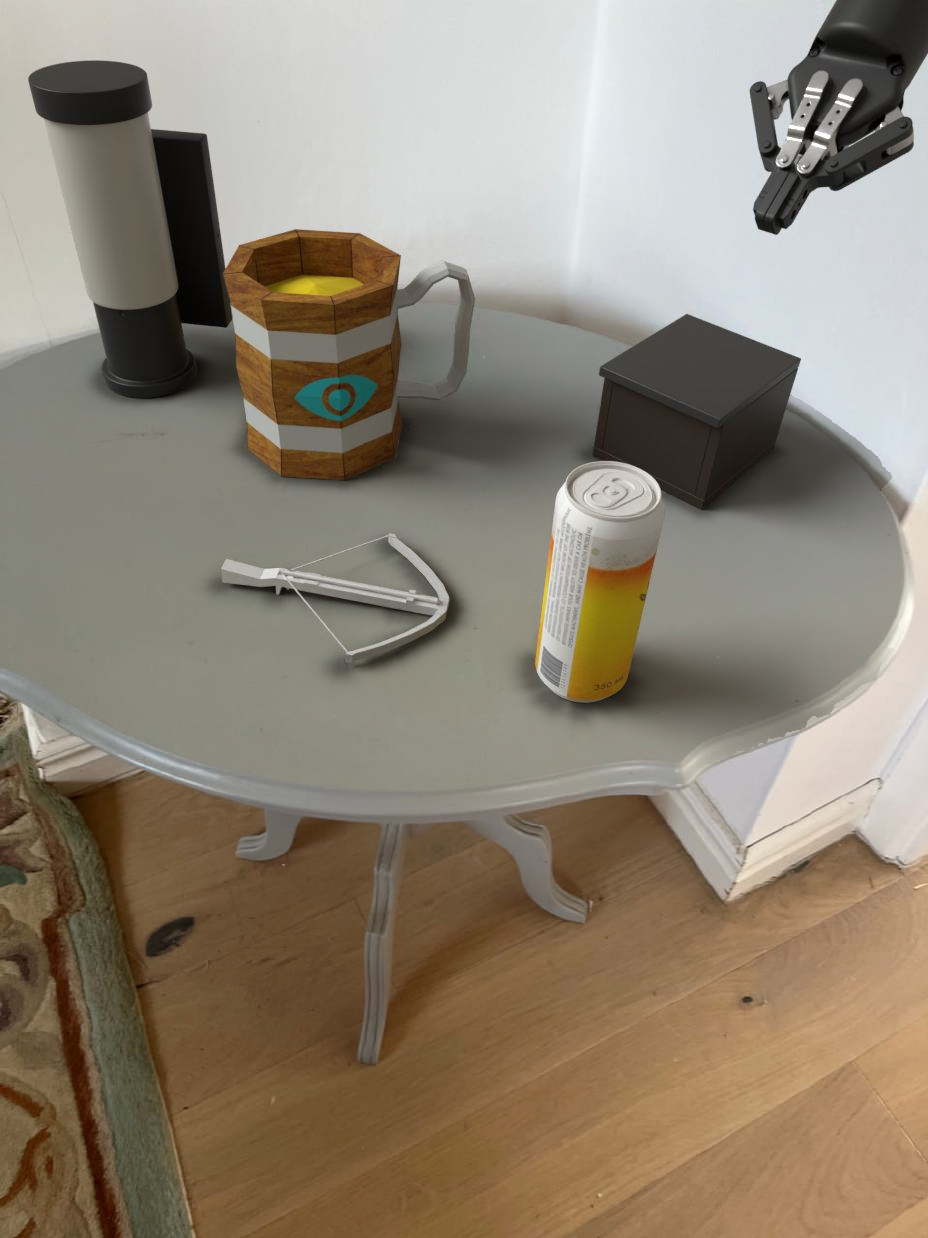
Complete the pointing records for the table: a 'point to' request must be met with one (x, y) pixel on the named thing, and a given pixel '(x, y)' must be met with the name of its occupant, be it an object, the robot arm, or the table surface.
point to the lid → (700, 369)
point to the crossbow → (353, 594)
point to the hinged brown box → (687, 440)
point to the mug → (329, 349)
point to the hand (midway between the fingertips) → (765, 226)
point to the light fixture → (135, 221)
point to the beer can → (597, 578)
